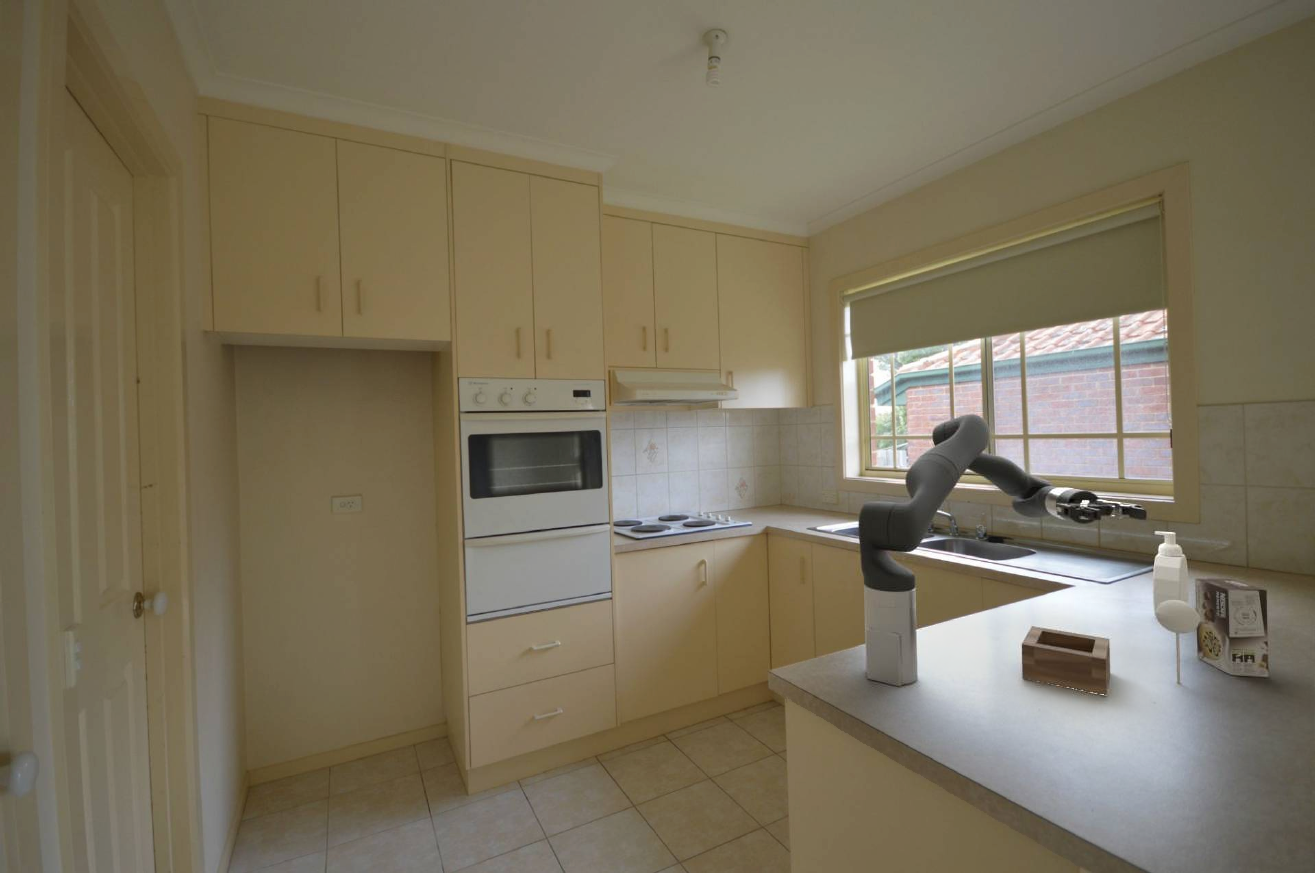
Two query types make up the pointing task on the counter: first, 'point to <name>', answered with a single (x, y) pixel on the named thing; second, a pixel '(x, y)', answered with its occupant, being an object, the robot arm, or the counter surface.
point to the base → (1066, 659)
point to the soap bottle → (1169, 572)
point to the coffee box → (1232, 626)
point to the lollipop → (1177, 621)
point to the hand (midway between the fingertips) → (1121, 514)
